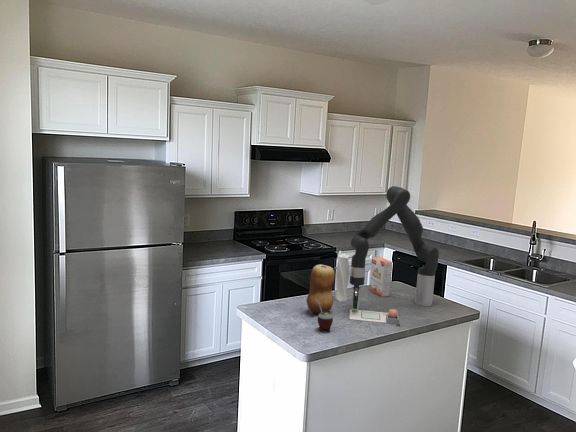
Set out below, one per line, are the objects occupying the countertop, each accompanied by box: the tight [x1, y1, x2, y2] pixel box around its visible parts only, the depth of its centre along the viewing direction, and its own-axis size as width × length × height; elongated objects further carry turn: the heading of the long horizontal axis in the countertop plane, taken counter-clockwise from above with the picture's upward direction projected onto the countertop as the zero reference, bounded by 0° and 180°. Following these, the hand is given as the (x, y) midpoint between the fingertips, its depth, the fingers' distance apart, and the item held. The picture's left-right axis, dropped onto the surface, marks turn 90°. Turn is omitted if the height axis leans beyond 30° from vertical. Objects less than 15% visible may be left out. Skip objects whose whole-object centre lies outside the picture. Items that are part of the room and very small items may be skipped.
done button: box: [388, 308, 398, 318], centre depth 233 cm, size 4×4×3 cm
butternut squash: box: [305, 264, 336, 315], centre depth 241 cm, size 14×13×25 cm
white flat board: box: [348, 308, 401, 327], centre depth 240 cm, size 16×25×3 cm, turn 81°
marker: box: [350, 291, 361, 313], centre depth 245 cm, size 4×4×10 cm
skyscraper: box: [334, 250, 351, 302], centre depth 262 cm, size 8×8×28 cm
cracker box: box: [369, 255, 393, 298], centre depth 280 cm, size 14×6×21 cm, turn 21°
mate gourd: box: [314, 299, 334, 333], centre depth 220 cm, size 8×8×15 cm
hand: (355, 307), depth 246 cm, fingers closed on marker, 3 cm apart
